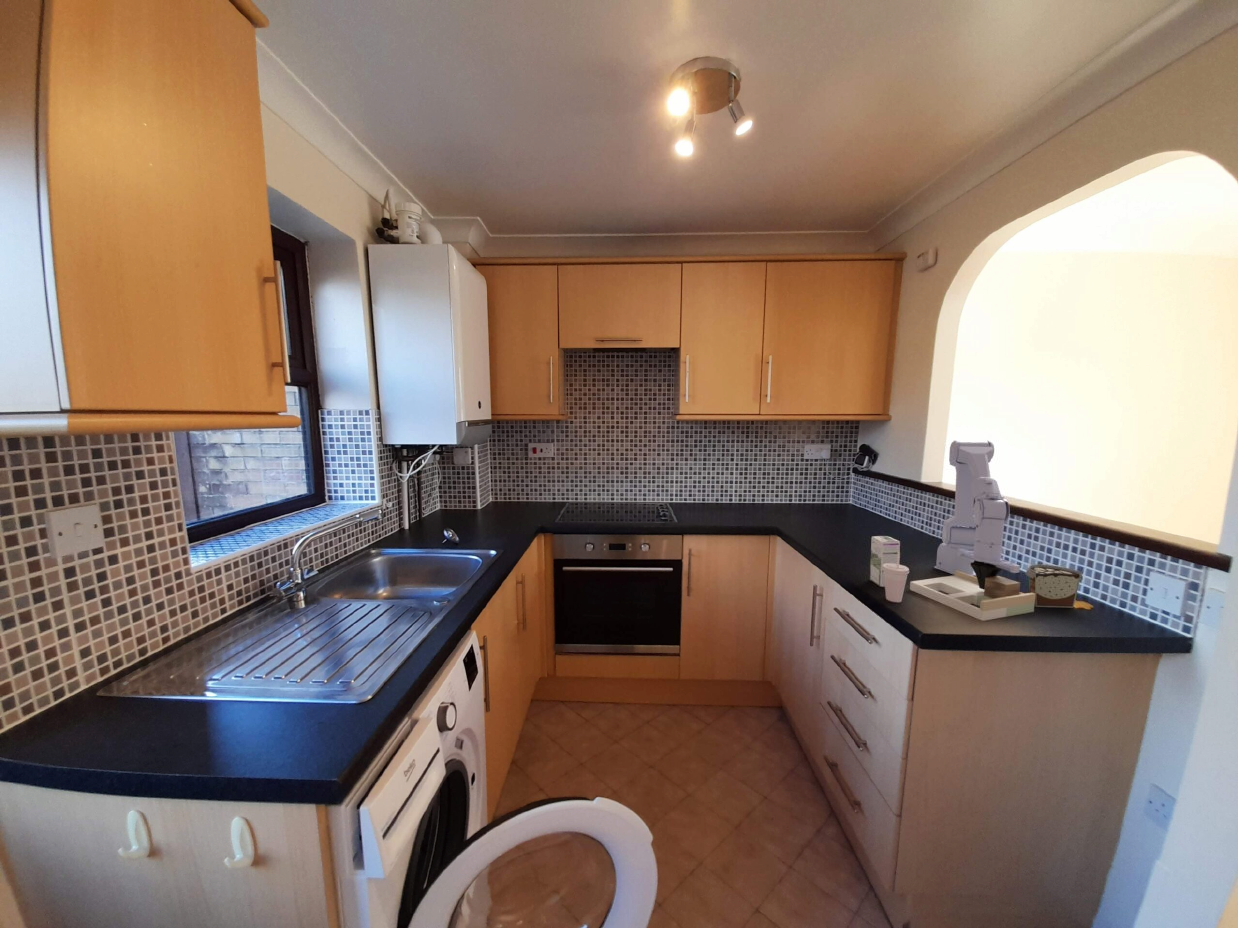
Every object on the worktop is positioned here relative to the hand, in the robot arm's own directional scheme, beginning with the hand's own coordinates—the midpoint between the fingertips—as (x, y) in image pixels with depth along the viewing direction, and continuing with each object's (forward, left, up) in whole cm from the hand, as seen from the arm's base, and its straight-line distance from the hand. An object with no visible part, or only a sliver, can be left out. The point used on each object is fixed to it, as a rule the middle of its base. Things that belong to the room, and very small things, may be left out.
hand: (984, 588), depth 116 cm
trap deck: (-1, -4, -3) cm, 5 cm away
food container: (+5, +15, -4) cm, 16 cm away
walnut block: (+4, 0, -1) cm, 4 cm away
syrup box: (-17, -16, -4) cm, 24 cm away
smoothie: (-7, -23, -4) cm, 25 cm away
